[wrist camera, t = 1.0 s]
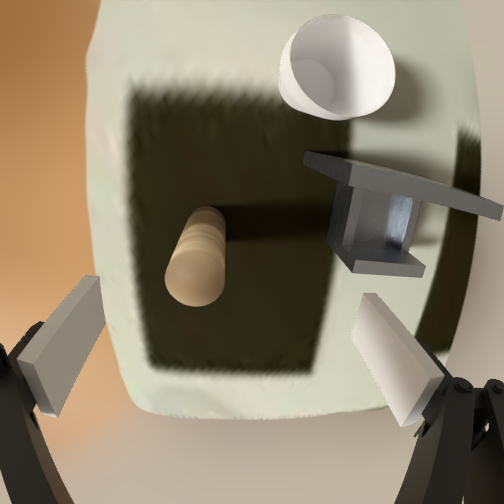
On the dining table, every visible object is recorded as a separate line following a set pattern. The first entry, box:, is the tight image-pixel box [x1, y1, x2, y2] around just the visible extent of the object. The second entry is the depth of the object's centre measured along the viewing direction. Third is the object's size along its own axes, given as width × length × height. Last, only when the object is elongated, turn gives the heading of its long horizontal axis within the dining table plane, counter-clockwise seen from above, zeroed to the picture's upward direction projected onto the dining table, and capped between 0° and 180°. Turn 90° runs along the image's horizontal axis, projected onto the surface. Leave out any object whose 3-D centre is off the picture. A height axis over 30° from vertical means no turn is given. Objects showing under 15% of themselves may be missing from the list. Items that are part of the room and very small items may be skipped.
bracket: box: [303, 151, 504, 278], centre depth 29 cm, size 10×18×14 cm, turn 83°
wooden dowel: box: [165, 206, 226, 306], centre depth 28 cm, size 4×4×14 cm
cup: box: [278, 15, 395, 120], centre depth 24 cm, size 9×9×12 cm
